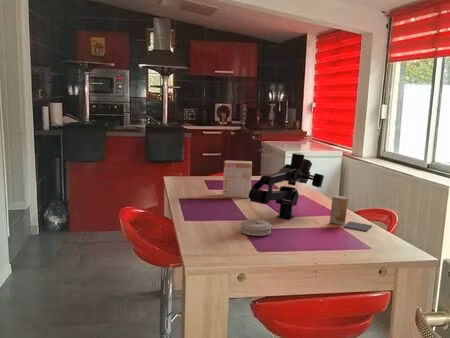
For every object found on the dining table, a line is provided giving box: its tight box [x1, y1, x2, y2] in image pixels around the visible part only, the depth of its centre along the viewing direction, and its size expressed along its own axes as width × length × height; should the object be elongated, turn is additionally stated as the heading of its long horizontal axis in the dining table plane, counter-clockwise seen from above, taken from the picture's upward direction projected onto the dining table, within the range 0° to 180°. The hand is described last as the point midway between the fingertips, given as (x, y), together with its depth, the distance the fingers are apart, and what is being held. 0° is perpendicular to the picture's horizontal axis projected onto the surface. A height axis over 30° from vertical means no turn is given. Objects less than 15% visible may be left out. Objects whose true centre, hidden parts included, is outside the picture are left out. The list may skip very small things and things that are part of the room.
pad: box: [342, 221, 373, 233], centre depth 199 cm, size 10×10×1 cm
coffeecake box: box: [222, 159, 253, 199], centre depth 247 cm, size 15×7×20 cm, turn 84°
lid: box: [240, 218, 272, 237], centre depth 185 cm, size 13×13×5 cm
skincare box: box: [329, 195, 349, 226], centre depth 203 cm, size 6×4×12 cm
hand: (311, 177), depth 228 cm, fingers open, 9 cm apart
